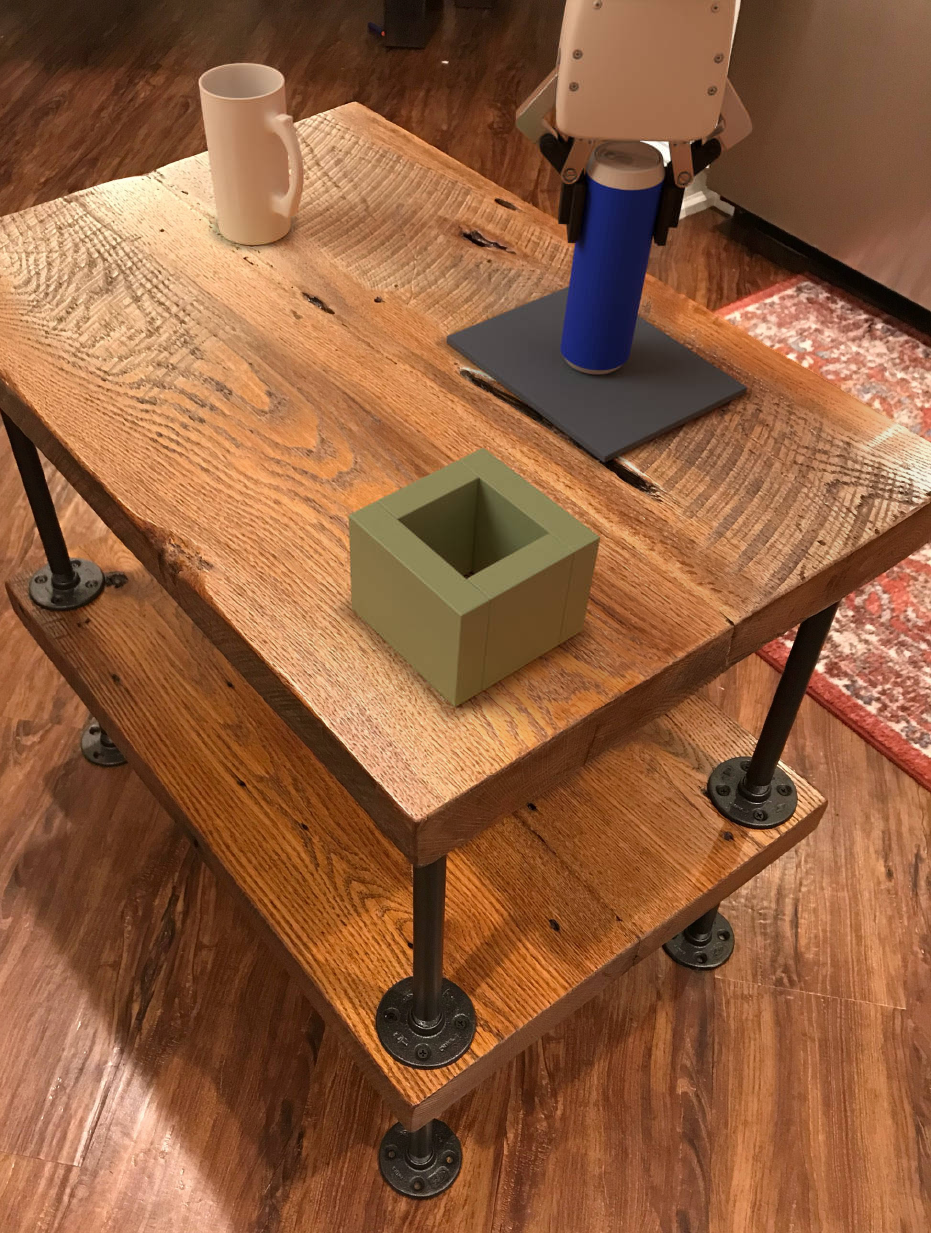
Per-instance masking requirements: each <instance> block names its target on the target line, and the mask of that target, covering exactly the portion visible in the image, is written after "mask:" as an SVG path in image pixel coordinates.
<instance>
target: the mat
mask: <svg viewBox="0 0 931 1233" xmlns="http://www.w3.org/2000/svg"><path fill="white" fill-rule="evenodd" d="M568 290H569V286H566V287H564V288H561V289H559V290H557V291H554V292H552V293H549V294H547V295H544V296H542V297H539V298H537V299H535V300H532V301H529V302H527V303H525V304H522V305H520V306H517V307H514V308H512V309H510V310H507V311H505V312H502V313H500V314H498V315H496V316H493V317H491V318H488V319H485V320H483V321H481V322H478V323H476V324H473V325H471V326H468V327H466V328H464V329H461V330H459V331H456V332H454V333H451V334H449V335H447V336H446V343H447V344H448V345H449V346H451V347H452V348H453V349H454V350H456V351H457V352H458V353H460V354H461V355H463V357H465V358H466V359H467V360H469V361H470V362H471V363H473V364H474V365H476V367H478V368H479V369H481V370H482V371H483V372H485V374H487V375H488V376H490V377H491V378H492V379H494V380H495V381H497V383H499V384H500V385H501V386H502V387H504V388H505V389H507V390H508V391H509V392H511V393H512V394H513V395H515V396H516V397H517V398H519V399H520V400H521V401H522V402H523V403H525V404H526V405H528V406H529V407H530V408H531V409H533V410H534V411H536V413H538V414H539V415H541V416H542V417H543V418H544V419H546V420H547V421H548V422H550V423H551V424H552V425H554V426H555V427H556V428H558V430H560V431H561V432H563V433H565V434H566V435H567V436H568V437H570V438H571V439H572V440H573V441H574V442H576V443H577V444H578V445H580V446H581V447H582V448H584V449H585V450H586V451H588V452H589V453H591V454H592V455H593V456H594V457H595V458H597V459H598V460H600V461H601V462H602V463H604V464H605V463H607V462H609V461H611V460H613V459H616V458H618V457H619V456H621V455H623V454H626V453H627V452H630V451H631V450H633V449H636V448H637V447H638V448H639V447H640V446H642V445H644V444H646V443H648V442H650V441H653V440H654V439H656V438H658V437H660V436H662V435H664V434H667V433H668V432H671V431H672V430H674V429H677V428H679V427H680V426H683V425H685V424H687V423H688V422H691V421H693V420H694V419H695V420H696V418H699V417H701V416H703V415H705V414H707V413H709V412H711V411H713V410H715V409H717V408H719V407H721V406H723V405H726V404H727V403H729V402H731V401H733V400H735V399H738V398H741V397H742V396H744V395H746V393H747V390H748V386H747V385H745V384H743V383H742V382H740V381H739V380H738V379H736V378H735V377H732V376H731V375H730V374H728V373H727V372H726V371H723V370H722V369H720V368H719V367H717V366H716V365H714V364H713V363H711V362H709V361H708V360H707V359H705V358H703V357H702V356H701V355H699V354H698V353H696V352H694V351H693V350H691V349H690V348H688V347H687V346H685V345H684V344H682V343H681V342H679V341H678V340H676V339H675V338H673V337H672V336H670V335H668V334H666V333H665V332H664V331H662V330H660V328H658V327H657V326H655V325H653V324H652V323H650V322H649V321H647V320H645V319H644V318H642V317H641V316H639V315H638V316H637V321H636V326H635V331H634V336H633V341H632V346H631V351H630V356H629V358H628V360H627V361H626V362H625V363H624V364H623V365H622V366H621V367H620V368H618V369H617V370H615V371H613V372H610V373H607V374H588V373H584V372H581V371H578V370H576V369H574V368H573V367H571V366H570V365H569V364H568V363H567V361H566V360H565V358H564V357H563V355H562V353H561V349H560V346H561V339H562V332H563V325H564V318H565V311H566V304H567V297H568Z"/></svg>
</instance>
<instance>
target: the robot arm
mask: <svg viewBox="0 0 931 1233" xmlns="http://www.w3.org/2000/svg"><path fill="white" fill-rule="evenodd" d="M736 2H737V0H566V1H565V6H564V12H563V18H562V23H561V30H560V36H559V42H558V44H559V45H558V49H557V58H556V65H555V67H554V69H553V70H552V71H551V72H550V73H549V74H548V75H547V76H546V77H545V79H543V81H542V82H541V83H540V84H539V85H538V86H537V87H536V88H535V89H534V90H533V91H532V92H531V94H530V95H529V96H528V97H527V98H526V99H525V100H524V102H522V103H521V105H520V106H519V107H518V108H517V109H516V111H515V114H514V115H515V116H514V119H515V120H514V122H515V128H516V129H517V130H518V131H519V132H520V133H521V134H522V135H523V136H524V137H525V138H526V139H527V140H528V141H530V142H531V144H532V145H534V146H536V147H537V148H538V150H539V151H540V153H541V155H543V157H544V158H545V159H546V161H547V162H549V164H550V165H551V166H552V168H554V170H555V171H556V172H557V173H558V174H559V175H560V179H561V185H560V193H559V203H558V210H557V211H558V212H557V224H558V225H566V238H567V244H575V243H576V241H579V235H580V228H581V220H582V213H583V205H584V198H585V190H586V184H585V166H586V164H587V162H588V160H589V159H588V158H589V157H590V155H591V153H592V152H591V151H593V150H592V149H593V147H594V145H595V143H596V141H611V140H620V141H641V142H659V143H661V142H663V143H668V152H669V158H670V160H669V161H668V162H666V165H664V167H665V178H664V183H663V189H662V194H661V199H660V204H659V209H658V214H657V219H656V224H655V229H654V234H653V243H654V244H655V245H656V246H657V247H666V245H667V242H668V241H667V240H668V235H669V230H670V228H671V229H677V228H678V226H679V222H680V217H681V211H682V207H683V206H682V205H683V201H684V196H685V192H686V188H688V187H689V186H691V185H692V184H693V182H694V179H695V177H696V176H698V175H699V174H700V173H701V172H702V171H704V170H705V169H706V168H707V167H709V166H710V165H711V164H712V163H714V162H715V161H716V160H717V159H718V158H719V157H721V154H722V153H723V152H724V151H728V150H729V149H731V148H732V147H734V146H735V145H736V144H737V145H738V143H739V142H741V141H742V140H744V139H746V138H747V137H748V136H749V135H750V134H752V131H753V127H754V126H753V123H752V120H751V118H750V115H749V113H748V111H747V109H746V108H745V106H744V103H743V102H742V100H741V99H740V97H739V95H738V94H737V92H736V89H735V88H734V86H733V85H732V83H731V81H730V79H729V78H728V68H729V63H730V55H731V50H732V49H731V48H732V41H733V33H734V26H735V25H734V23H735V15H736V4H737V3H736ZM554 107H555V110H556V111H555V122H556V127H557V129H558V130H559V131H560V132H561V133H563V134H564V135H566V139H565V138H564V137H563V136H562V135H561V133H560V132H559V131H558V130H557V129H556V128H555V127H554V126H552V125H550V124H549V123H548V121H547V120H546V119H545V116H547V115H548V114H549V112H551V110H552V109H553V108H554ZM720 116H721V117H722V120H721V121H720V122H719V118H720ZM718 122H719V123H718Z"/></svg>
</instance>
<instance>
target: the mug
mask: <svg viewBox="0 0 931 1233" xmlns="http://www.w3.org/2000/svg"><path fill="white" fill-rule="evenodd" d="M285 81H286V80H285V77H284V75H283V74H282V73H281V72H280V71H279V70H278V69H276V68H273V67H271V66H268V65H265V64H260V63H251V62H241V63H240V62H238V63H237V62H236V63H228V64H222V65H219V66H215V67H213V68H211V69H209V70H207V71H205V72H203V73H202V75H201V76H200V77H199V79H198V88H199V94H200V95H199V96H200V103H201V104H200V105H201V111H202V119H203V125H204V126H203V127H204V132H205V139H206V148H207V153H208V161H209V167H210V168H209V169H210V175H211V183H212V190H213V197H214V198H213V199H214V204H215V210H216V211H215V212H216V217H217V223H218V224H217V225H218V230H219V232H220V234H221V235H222V236H223V238H225V239H226V240H228V241H230V242H233V243H236V244H239V245H246V246H247V245H249V246H258V245H260V246H261V245H266V244H270V243H274V242H277V241H279V240H280V239H282V238H284V237H285V236H286V235H287V234H288V233H289V231H290V230H291V225H292V219H291V218H292V217H293V216H296V215H298V213H299V209H300V204H301V199H302V195H303V190H304V179H305V173H304V172H305V171H304V160H303V155H302V149H301V146H300V143H299V139H298V135H297V132H296V129H295V125H294V117H293V116H292V115H288V114H287V98H286V87H285V86H286V84H285ZM289 163H290V166H289ZM289 167H290V168H289Z"/></svg>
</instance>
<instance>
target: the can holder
mask: <svg viewBox="0 0 931 1233" xmlns="http://www.w3.org/2000/svg"><path fill="white" fill-rule="evenodd" d="M348 540H349V542H348V543H349V570H350V571H349V573H350V600H351V609H352V611H353V612H354V613H356V614H357V615H358V616H359V617H360V618H361V619H362V620H363V621H364V622H365V623H366V624H367V625H368V626H369V627H370V628H371V629H372V630H373V631H374V632H376V633H377V634H378V635H379V636H380V637H381V638H382V639H383V640H384V642H386V643H387V644H388V645H389V646H390V647H391V648H392V649H393V650H394V651H396V653H397V654H399V656H400V657H402V658H403V660H404V661H406V662H407V663H408V664H409V665H410V666H411V667H412V668H413V669H414V670H415V671H416V672H417V673H418V674H419V675H420V676H421V677H422V678H423V679H424V680H426V682H428V683H429V684H430V685H431V686H432V687H433V688H434V690H436V691H437V692H438V693H439V694H440V695H441V696H442V697H443V698H445V699H446V701H447V702H449V704H451V706H452V707H453V708H457V707H459V706H460V705H462V704H464V703H465V702H467V701H468V700H470V699H471V698H473V697H475V696H477V695H479V694H481V692H484V691H485V690H487V689H489V688H490V687H492V686H493V685H495V684H497V683H499V682H500V681H502V680H503V679H505V678H507V677H509V676H510V675H512V674H514V673H515V672H516V671H519V670H520V669H522V668H523V667H525V666H527V665H528V664H530V663H531V662H533V661H535V660H537V659H539V658H540V657H542V656H543V655H545V654H547V653H548V652H549V651H551V650H553V649H555V648H557V647H558V646H560V645H562V644H563V643H565V642H567V641H569V640H570V639H572V638H573V637H575V636H576V635H578V634H580V633H581V632H583V630H584V625H585V621H586V616H587V615H586V614H587V609H588V605H589V599H590V594H591V589H592V583H593V579H594V574H595V573H594V572H595V568H596V562H597V558H598V553H599V546H600V542H601V536H600V535H598V534H597V533H596V532H595V531H593V530H592V529H591V528H589V527H588V526H587V525H585V524H584V523H582V522H581V521H580V520H579V519H577V518H576V517H575V516H574V515H573V514H571V513H570V512H568V511H567V510H565V508H563V507H562V506H561V505H559V504H558V503H556V502H555V501H554V500H553V499H552V498H550V497H549V496H547V495H546V494H545V493H543V492H542V490H540V489H538V488H537V487H536V486H535V485H533V484H532V483H531V482H529V481H528V480H526V479H525V478H524V477H522V476H521V475H520V474H519V473H518V472H516V471H515V470H513V468H511V467H510V466H509V465H507V464H506V463H504V462H503V461H502V460H500V459H499V458H498V457H497V456H495V455H494V454H493V453H491V452H490V451H489V450H487V449H486V448H484V447H481V448H479V449H477V450H475V451H474V452H471V453H469V454H467V455H466V456H463V457H461V458H459V459H458V460H455V461H453V462H451V463H449V464H447V465H445V466H443V467H441V468H439V469H437V470H435V471H433V472H431V473H429V474H428V475H425V476H423V477H421V478H419V479H417V480H415V481H413V482H411V483H409V484H407V485H405V486H403V487H400V488H399V489H397V490H395V491H393V492H391V493H389V494H387V495H385V496H383V497H381V498H379V499H377V500H376V501H373V502H371V503H369V504H367V505H365V506H363V507H361V508H359V509H357V510H355V511H353V512H351V513H349V514H348ZM471 572H472V573H474V574H472V575H471V576H469V577H467V578H466V577H465V576H467V575H468V574H470V573H471Z"/></svg>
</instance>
